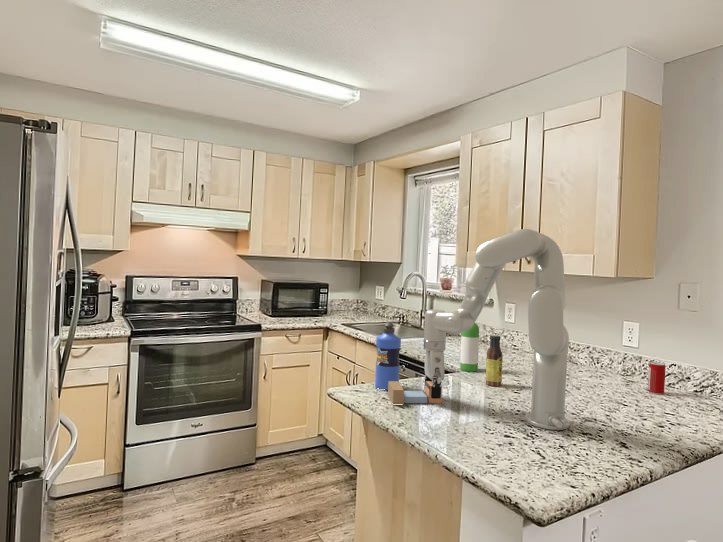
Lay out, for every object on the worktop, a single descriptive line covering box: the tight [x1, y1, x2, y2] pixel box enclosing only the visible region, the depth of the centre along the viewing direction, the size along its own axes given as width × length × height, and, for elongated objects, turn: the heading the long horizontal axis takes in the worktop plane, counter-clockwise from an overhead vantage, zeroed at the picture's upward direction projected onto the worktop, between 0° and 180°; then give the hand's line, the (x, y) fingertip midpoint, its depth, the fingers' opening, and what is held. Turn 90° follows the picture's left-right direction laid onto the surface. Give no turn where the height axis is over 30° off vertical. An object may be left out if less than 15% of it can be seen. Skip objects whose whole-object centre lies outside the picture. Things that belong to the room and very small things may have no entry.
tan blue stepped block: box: [387, 381, 429, 405], centre depth 158 cm, size 11×12×5 cm
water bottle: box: [374, 321, 402, 390], centre depth 174 cm, size 9×9×25 cm
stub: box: [424, 380, 443, 404], centre depth 159 cm, size 6×4×6 cm
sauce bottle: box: [485, 334, 504, 387], centre depth 183 cm, size 6×6×20 cm
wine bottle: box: [459, 322, 480, 373], centre depth 207 cm, size 8×8×30 cm
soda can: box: [647, 361, 666, 396], centre depth 179 cm, size 6×6×12 cm
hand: (432, 393), depth 159 cm, fingers open, 9 cm apart
